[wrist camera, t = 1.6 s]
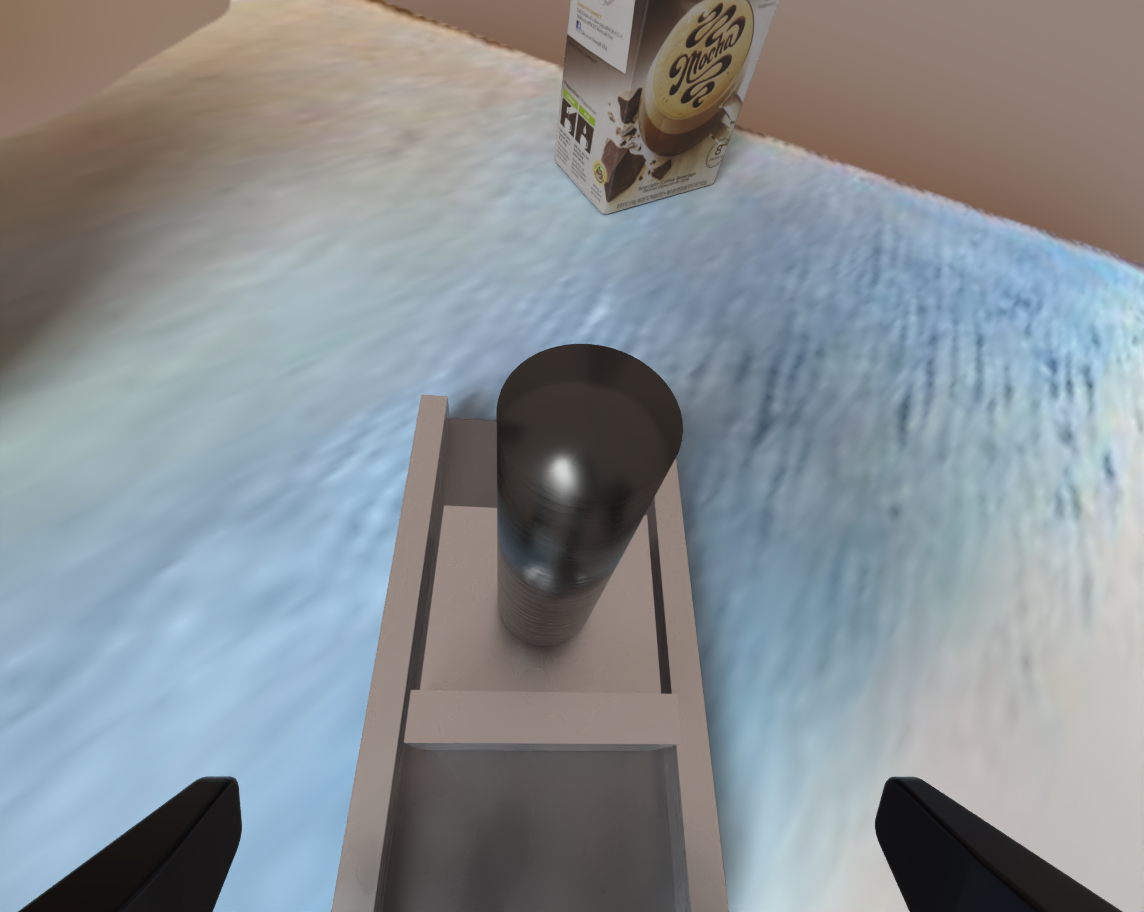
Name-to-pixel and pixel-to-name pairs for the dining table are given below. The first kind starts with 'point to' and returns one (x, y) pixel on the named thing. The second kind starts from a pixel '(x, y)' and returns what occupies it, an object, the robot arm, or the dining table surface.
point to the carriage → (555, 570)
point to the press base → (524, 778)
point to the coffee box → (654, 93)
